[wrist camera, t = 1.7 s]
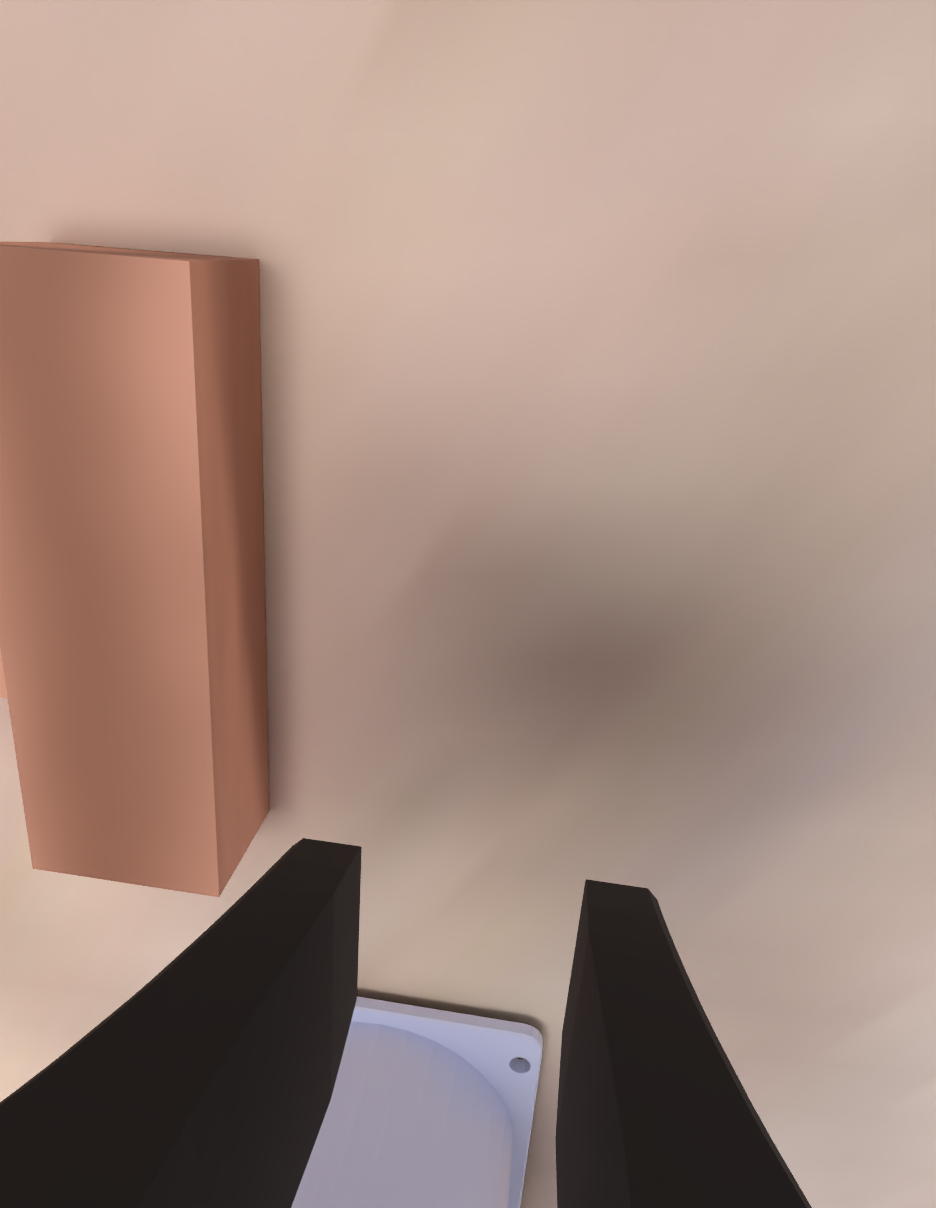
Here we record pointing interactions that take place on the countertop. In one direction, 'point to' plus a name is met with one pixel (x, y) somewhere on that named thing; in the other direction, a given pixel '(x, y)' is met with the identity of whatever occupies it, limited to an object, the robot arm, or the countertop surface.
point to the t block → (134, 559)
